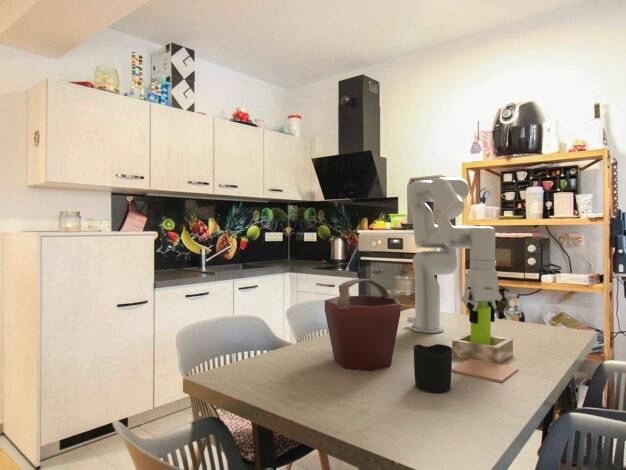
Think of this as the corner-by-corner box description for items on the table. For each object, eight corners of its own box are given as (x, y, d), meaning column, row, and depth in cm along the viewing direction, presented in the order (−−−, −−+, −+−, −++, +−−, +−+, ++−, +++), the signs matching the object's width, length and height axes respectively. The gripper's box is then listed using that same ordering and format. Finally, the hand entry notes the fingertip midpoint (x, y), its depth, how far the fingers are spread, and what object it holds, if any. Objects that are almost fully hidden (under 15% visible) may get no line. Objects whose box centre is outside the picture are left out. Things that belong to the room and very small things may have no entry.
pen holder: (423, 378, 115) (423, 341, 115) (458, 386, 109) (458, 347, 109) (406, 388, 108) (406, 348, 108) (443, 397, 102) (443, 355, 102)
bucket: (352, 379, 114) (352, 285, 114) (307, 359, 132) (307, 278, 132) (417, 364, 128) (417, 279, 127) (368, 347, 146) (368, 274, 146)
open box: (452, 356, 136) (452, 340, 136) (469, 347, 147) (469, 332, 146) (498, 364, 127) (498, 347, 127) (512, 354, 137) (512, 339, 137)
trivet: (450, 371, 121) (450, 369, 121) (469, 360, 131) (469, 358, 131) (502, 382, 112) (502, 380, 112) (518, 369, 122) (518, 367, 122)
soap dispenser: (483, 352, 133) (484, 287, 132) (466, 346, 139) (467, 284, 139) (497, 350, 135) (497, 286, 135) (480, 344, 142) (480, 283, 141)
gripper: (494, 263, 143) (494, 317, 144) (452, 265, 137) (451, 321, 138) (512, 265, 136) (512, 322, 137) (468, 267, 130) (468, 326, 131)
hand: (481, 321), depth 137 cm, fingers closed on soap dispenser, 5 cm apart
